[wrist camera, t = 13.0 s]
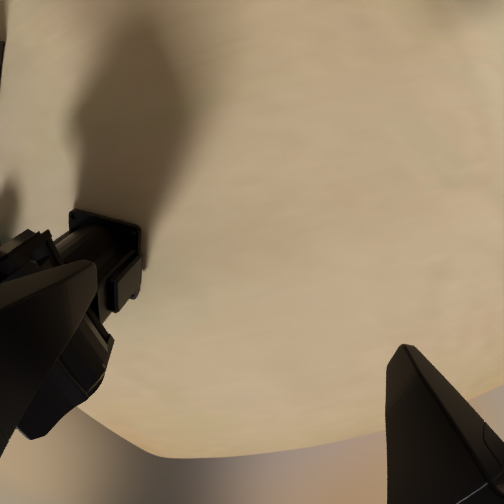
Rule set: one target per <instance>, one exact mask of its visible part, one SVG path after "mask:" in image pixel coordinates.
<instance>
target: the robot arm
mask: <svg viewBox="0 0 504 504" xmlns="http://www.w3.org/2000/svg"><path fill="white" fill-rule="evenodd" d="M74 214H75V216H76V217H75V216H74ZM132 230H134V231H135V232H136V234H134V233H133V232H132ZM51 237H52V235H51V233H50V231H49V229H48V230H46V231H44V232H43V233H41V234H40V232H39V231H38V232H37V233H34V232H32V231H31V230H29V229H27V230H25V231H24V232H22V233H21V234H19V235H18V236H16V237H14V238H13V239H11V240H10V241H8V242H7V243H5V244H3V245H2V246H0V457H1V455H2V453H3V451H4V449H5V447H6V445H7V444H8V442H9V439H10V438H11V436H12V434H13V432H14V430H15V429H18V430H19V431H20V432H21V433H22V434H23V435H24V436H25V437H26V438H27V439H28V440H33V439H36V438H39V437H43V436H45V435H46V434H47V433H48V432H49V431H50V430H51V429H52V428H53V427H54V426H55V425H56V423H57V422H58V421H59V420H60V419H61V418H62V417H63V416H64V415H65V414H67V413H68V412H69V411H70V410H72V409H73V408H74V407H76V406H77V405H79V404H81V403H83V402H84V401H86V400H87V399H88V398H89V397H90V396H91V395H92V394H93V393H94V392H95V391H96V390H97V389H98V388H99V386H100V384H101V383H102V381H103V378H104V375H105V371H106V368H107V364H108V361H109V357H110V354H111V351H112V347H113V344H114V339H113V337H112V336H111V334H108V332H107V331H106V329H105V328H104V326H103V325H102V324H103V323H104V321H105V320H106V319H107V317H108V316H109V315H110V314H111V312H114V313H117V312H119V311H120V310H121V308H122V307H123V306H124V305H125V303H126V302H127V301H128V299H136V297H137V296H138V294H139V285H140V284H141V274H142V255H141V254H140V242H141V229H140V227H139V226H137V225H135V224H131V223H128V222H124V221H120V220H116V219H112V218H109V217H105V216H101V215H97V214H93V213H89V212H86V211H82V210H78V209H73V210H72V211H70V212H69V231H67V232H66V233H65V234H63V235H62V236H60V237H59V238H57V239H56V240H55V241H53V240H52V238H51ZM385 422H386V441H387V477H388V478H387V484H388V485H387V504H504V442H503V441H502V440H501V439H500V438H499V437H498V435H497V434H496V433H495V432H494V431H493V430H492V429H491V428H490V427H489V425H488V424H487V423H486V422H484V420H483V419H482V418H481V417H480V415H478V413H477V412H476V411H475V410H474V409H473V408H472V407H471V406H470V405H469V403H468V402H467V401H466V400H465V399H464V398H463V397H462V396H461V395H460V393H459V392H458V391H457V390H456V389H455V388H454V387H453V386H452V385H451V384H450V383H449V382H448V381H447V380H446V378H445V377H444V376H443V375H442V374H441V373H440V372H439V371H438V370H437V369H436V368H435V367H434V366H433V365H432V364H431V363H430V362H429V361H428V360H427V359H426V357H425V356H424V355H423V354H422V353H421V352H420V351H419V350H418V349H417V348H416V347H415V346H413V345H407V344H402V345H400V346H399V347H398V349H397V351H396V352H395V354H394V355H393V357H392V358H391V360H390V361H389V363H388V365H387V370H386V404H385Z"/></svg>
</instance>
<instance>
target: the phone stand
mask: <svg viewBox="0 0 504 504" xmlns="http://www.w3.org/2000/svg"><path fill="white" fill-rule="evenodd" d="M3 47H4V41H1V42H0V70H1V61H2V54H3Z"/></svg>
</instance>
